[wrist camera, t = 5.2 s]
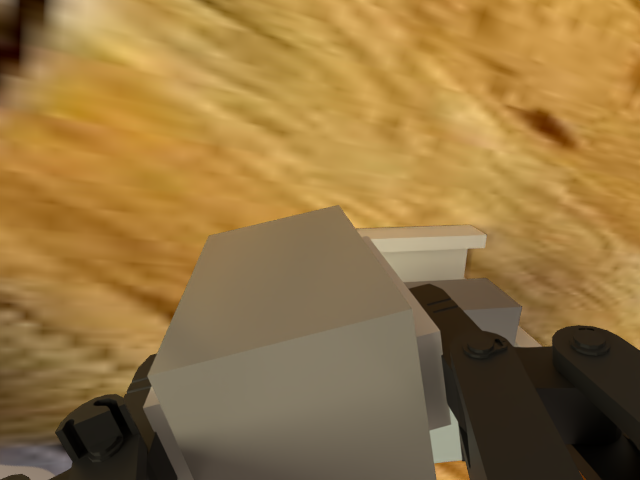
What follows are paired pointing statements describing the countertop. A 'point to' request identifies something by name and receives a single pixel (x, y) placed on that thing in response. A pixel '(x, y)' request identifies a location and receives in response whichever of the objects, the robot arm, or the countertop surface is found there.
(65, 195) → the countertop surface
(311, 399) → the gray rectangular block
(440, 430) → the trapdoor
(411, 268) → the frame
